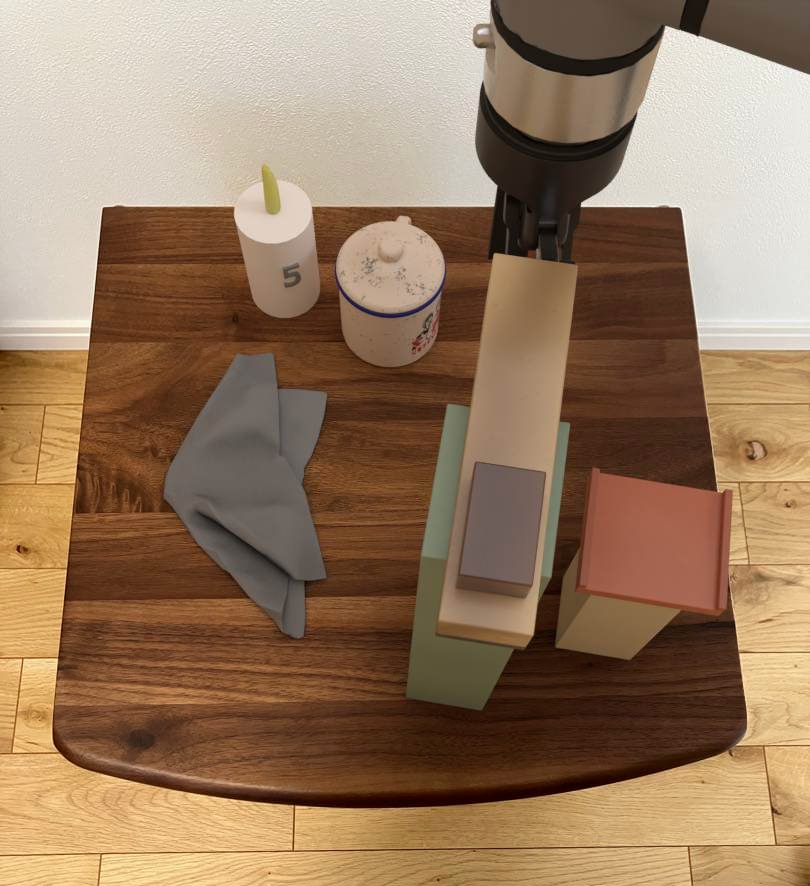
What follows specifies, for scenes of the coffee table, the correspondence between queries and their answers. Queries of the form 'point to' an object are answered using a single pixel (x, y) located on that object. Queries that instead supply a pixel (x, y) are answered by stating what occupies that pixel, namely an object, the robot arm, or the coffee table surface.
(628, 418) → the coffee table surface
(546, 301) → the tan wooden block
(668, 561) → the red-capped tan pillar
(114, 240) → the coffee table surface
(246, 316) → the coffee table surface
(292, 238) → the candle
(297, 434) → the cloth
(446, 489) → the mint green pillar
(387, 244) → the teacup with lid
